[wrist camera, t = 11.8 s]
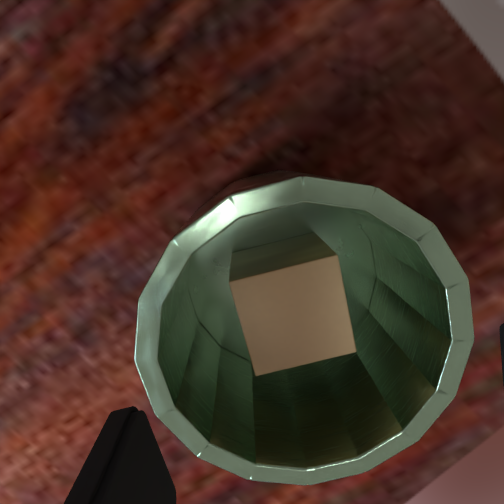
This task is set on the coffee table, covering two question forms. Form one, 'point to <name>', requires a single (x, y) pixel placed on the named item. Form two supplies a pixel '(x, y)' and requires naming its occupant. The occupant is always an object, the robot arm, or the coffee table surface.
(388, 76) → the coffee table surface
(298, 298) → the block
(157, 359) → the bowl
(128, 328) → the coffee table surface
